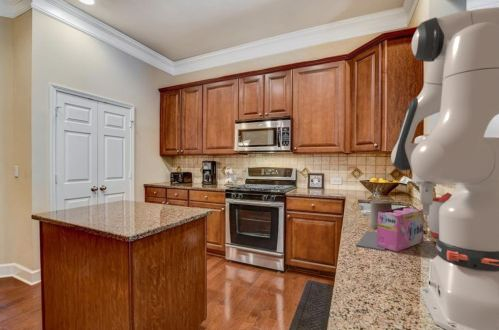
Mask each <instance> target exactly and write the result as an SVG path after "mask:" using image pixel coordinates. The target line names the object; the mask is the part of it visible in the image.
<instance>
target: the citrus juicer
mask: <svg viewBox="0 0 499 330" xmlns="http://www.w3.org/2000/svg"><path fill="white" fill-rule="evenodd" d="M451 196H452V194H451V193H449V192H446V193H444V194H442V196H440V197H437V196H433V204H432V205H430V209H429V215H428V216H426V220H427V226H428V229H429V232H430V234H431V236H432V237H435V238H437V239H438V238H439V209H440V207H441V205H442V204H443V203H444V202H446V201H447V200H448V199H449V198H450V197H451Z"/></svg>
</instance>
